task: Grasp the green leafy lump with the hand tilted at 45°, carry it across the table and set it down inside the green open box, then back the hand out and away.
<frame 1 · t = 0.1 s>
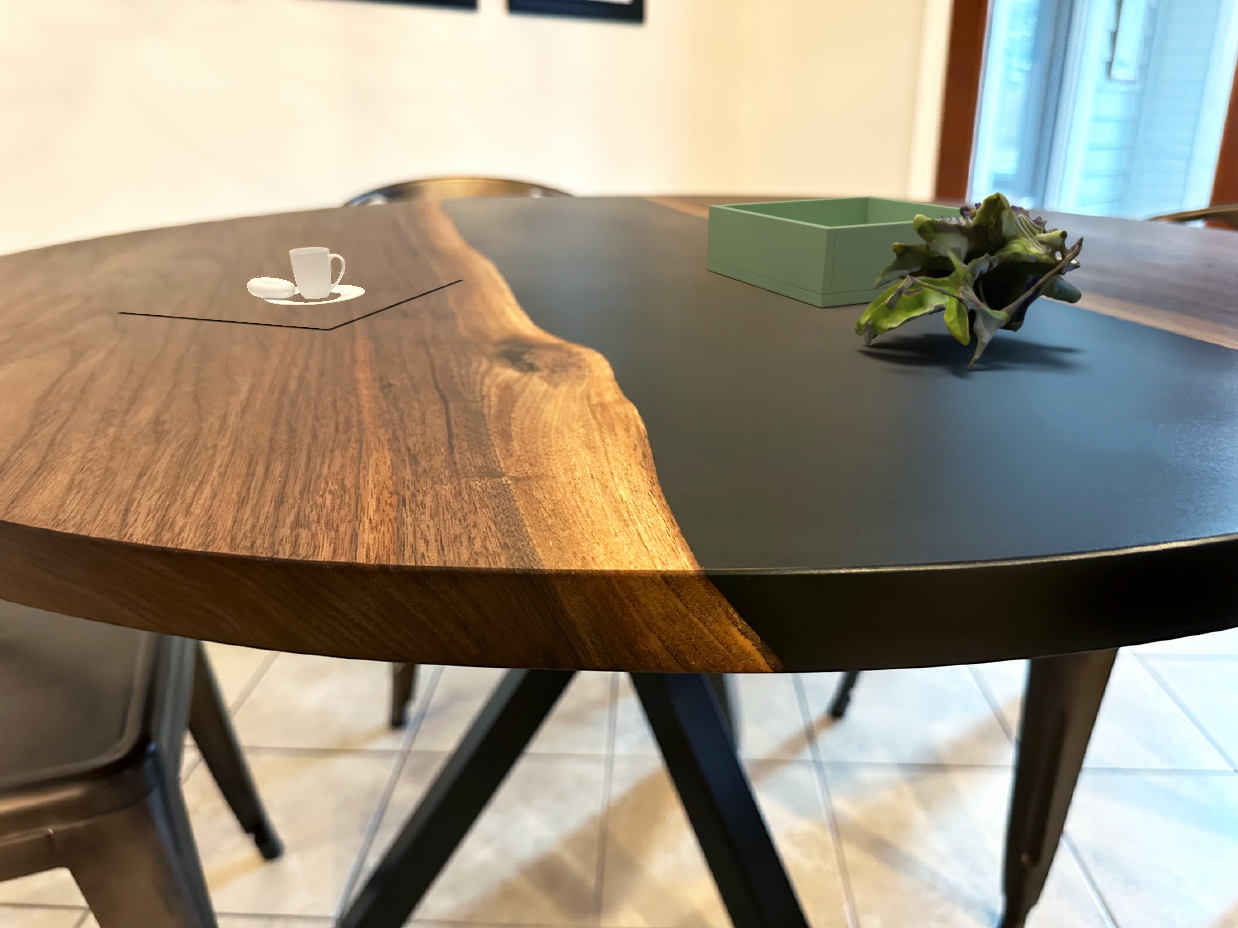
green open box: (845, 278, 76), on the table
green leafy lump: (962, 356, 53), on the table
teacup and saucer: (304, 297, 72), on the table
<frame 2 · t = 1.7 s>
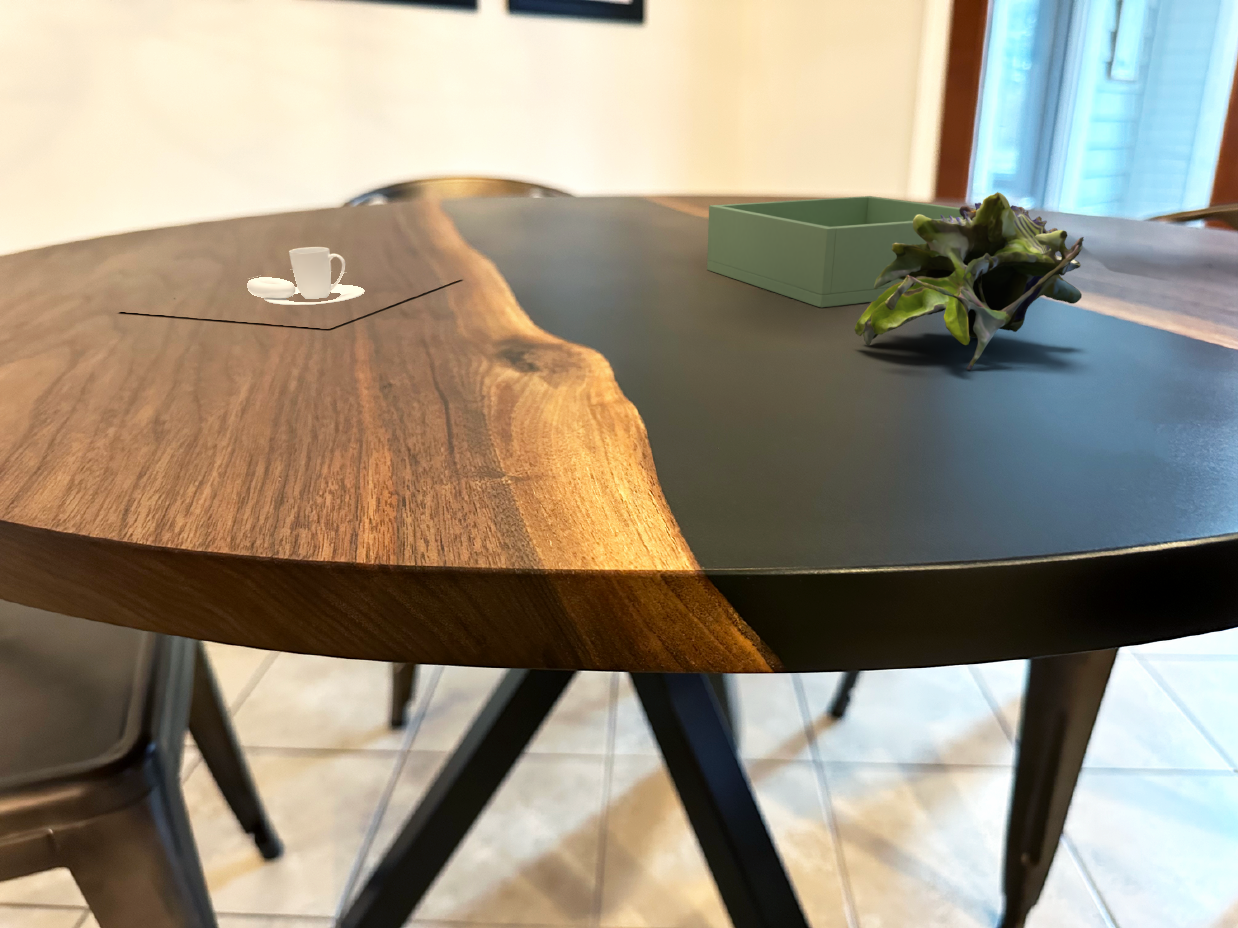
nothing on the table moved.
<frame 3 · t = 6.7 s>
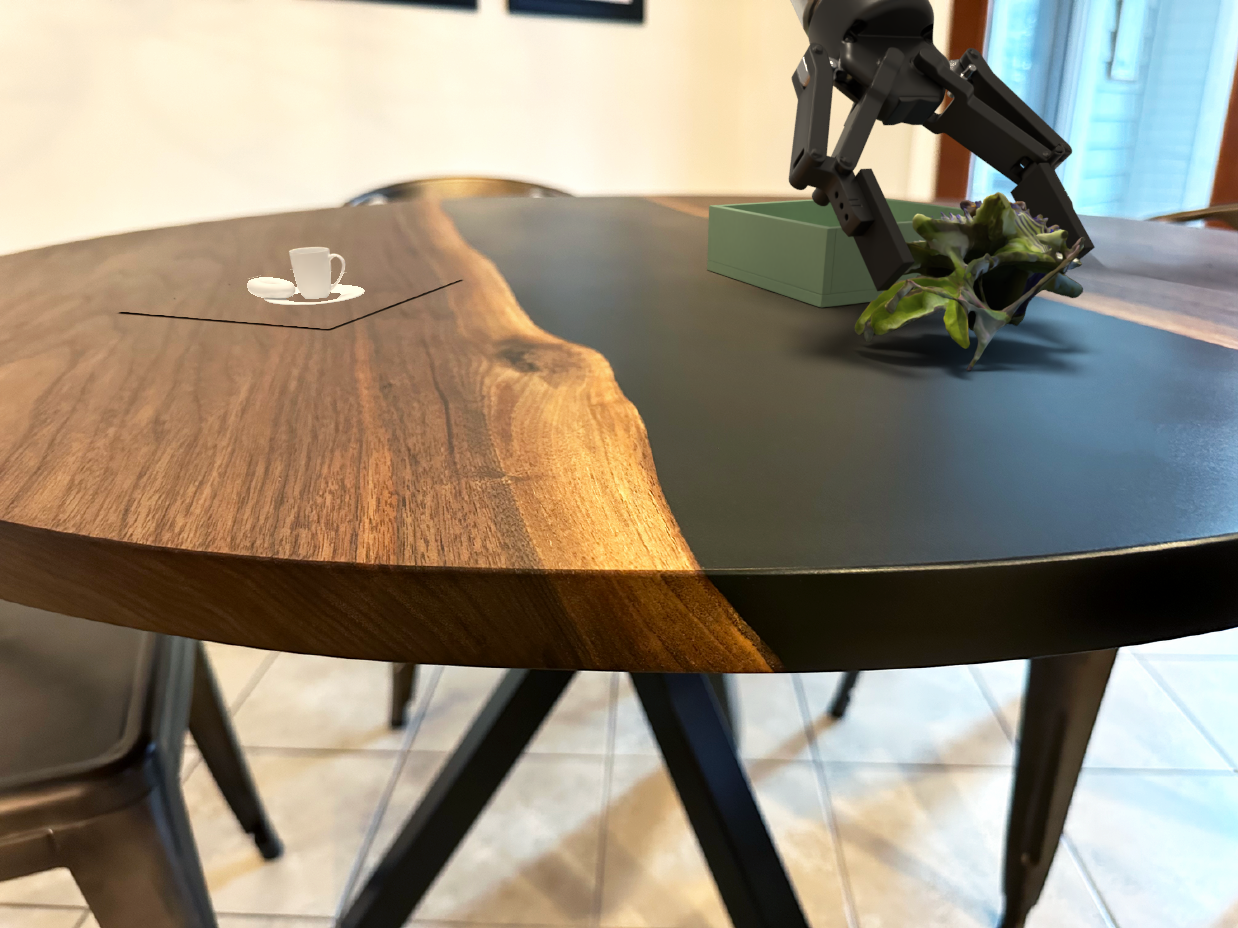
hand: (989, 270, 49), 5 cm above the table, tool tilted 45°, fingers closed on green leafy lump, 13 cm apart
green leafy lump: (962, 353, 53), on the table, touching gripper
everything else where it was.
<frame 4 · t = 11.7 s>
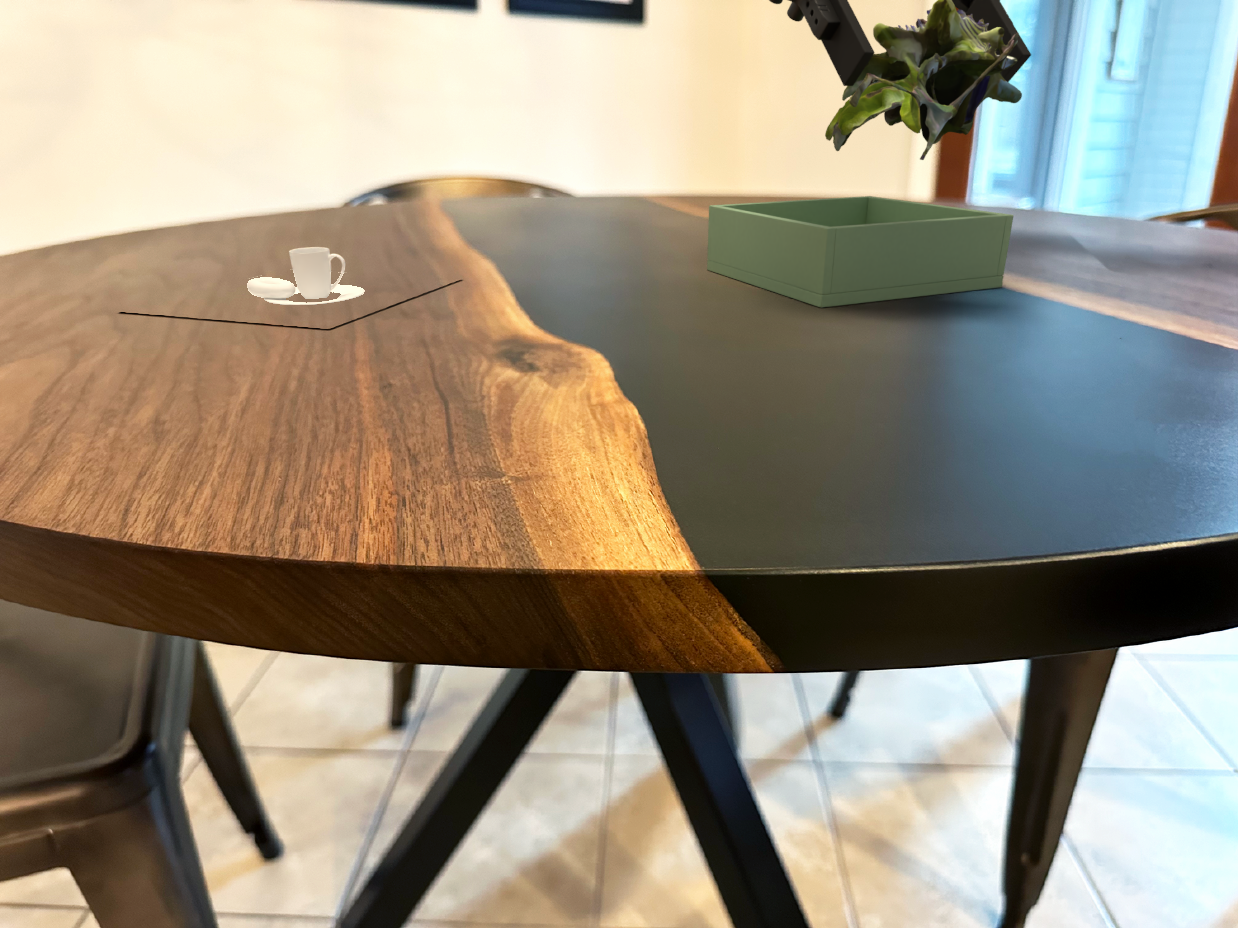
hand: (940, 70, 57), 17 cm above the table, tool tilted 45°, fingers closed on green leafy lump, 13 cm apart
green leafy lump: (918, 155, 61), point 11 cm above the table, touching gripper
everything else where it was.
when the fingers open (7 cm above the table, at t = 16.7 s): green leafy lump stays where it is, resting on green open box.
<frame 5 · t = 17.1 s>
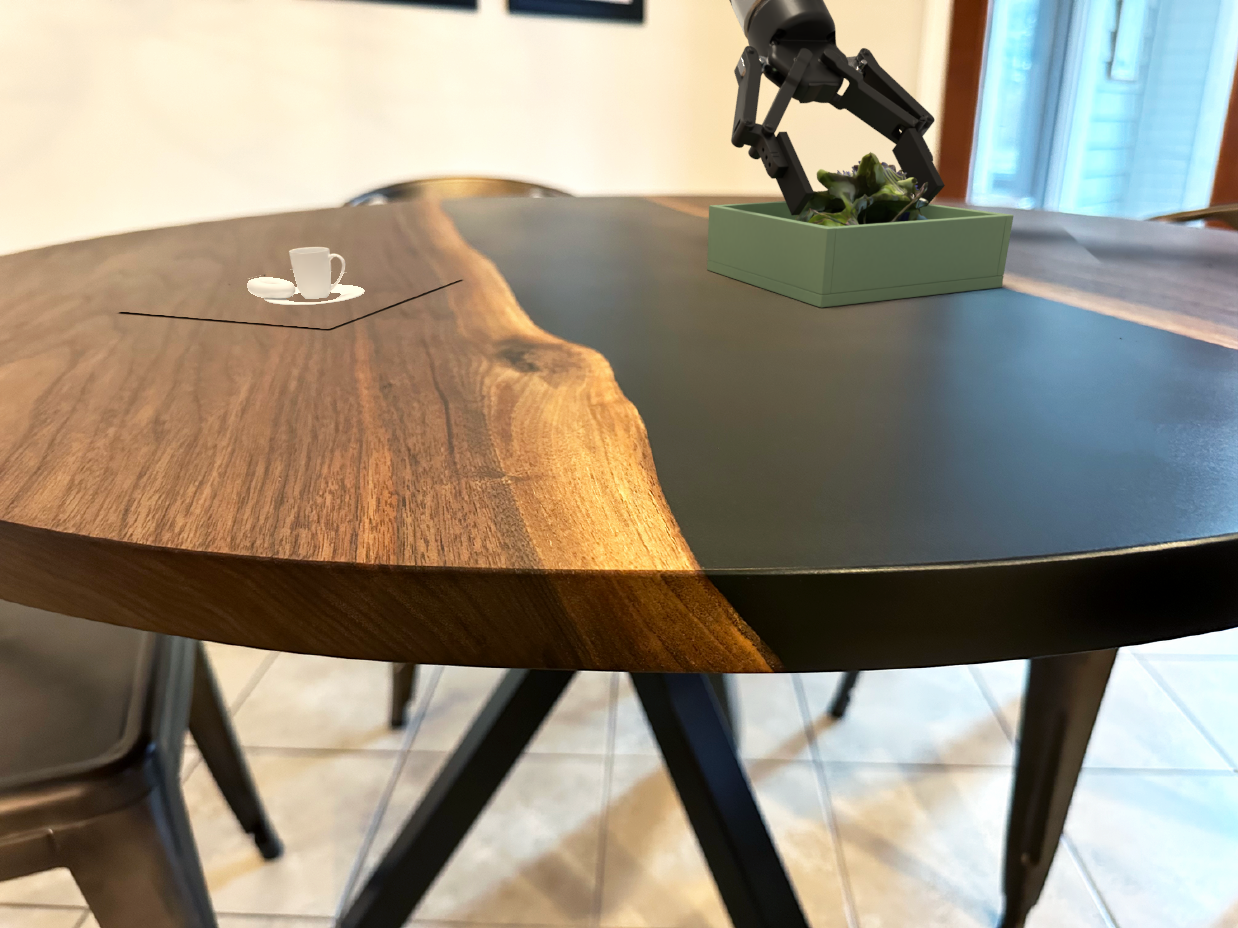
hand: (870, 200, 72), 7 cm above the table, tool tilted 45°, fingers open, 13 cm apart
green leafy lump: (854, 270, 75), point 1 cm above the table, touching green open box
everything else where it was.
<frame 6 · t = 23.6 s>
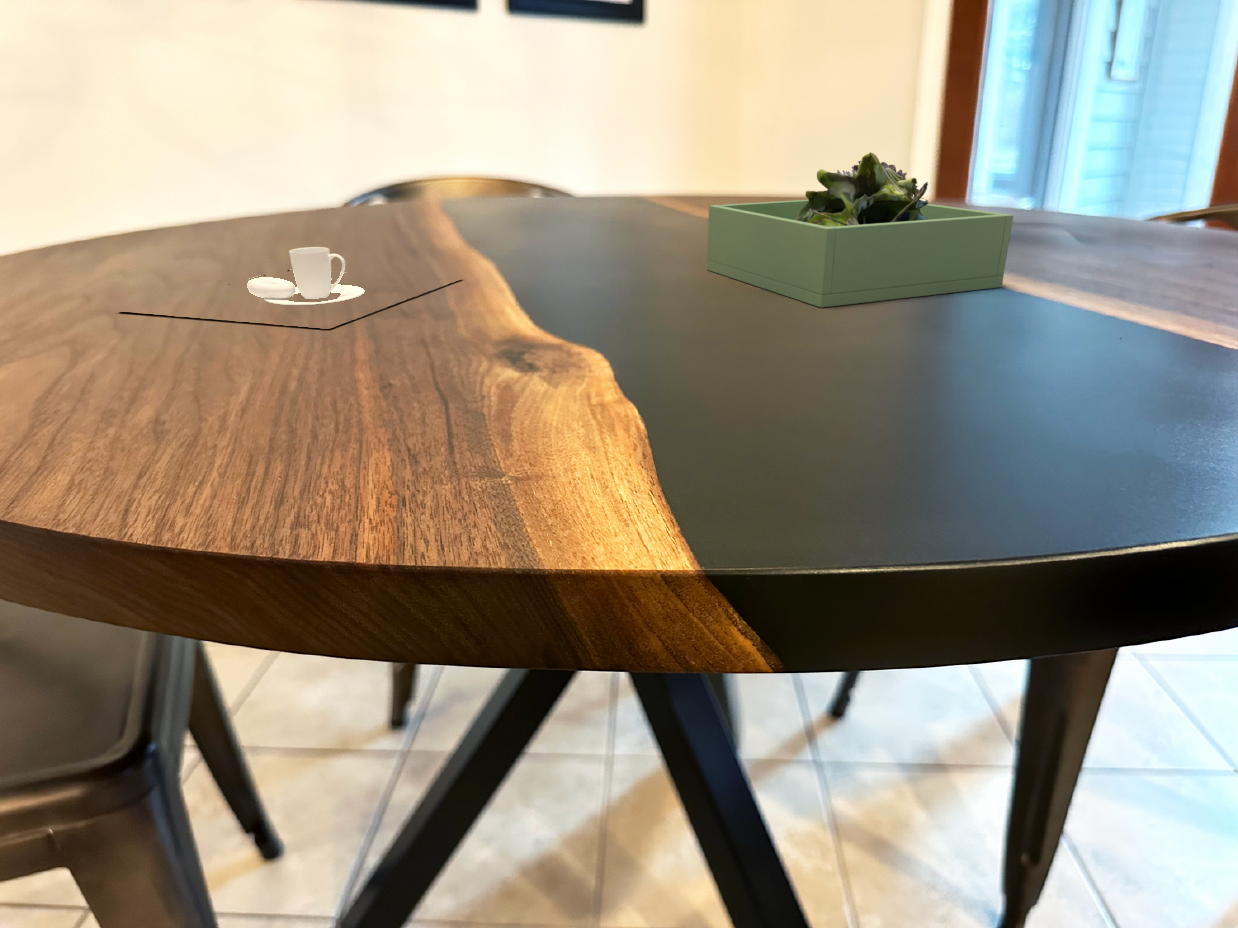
nothing on the table moved.
at the end: green leafy lump inside the target area in the green open box (0.9 cm from its centre), point 0.8 cm above the green open box's base; green leafy lump tilted 0°; the gripper is holding nothing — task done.
